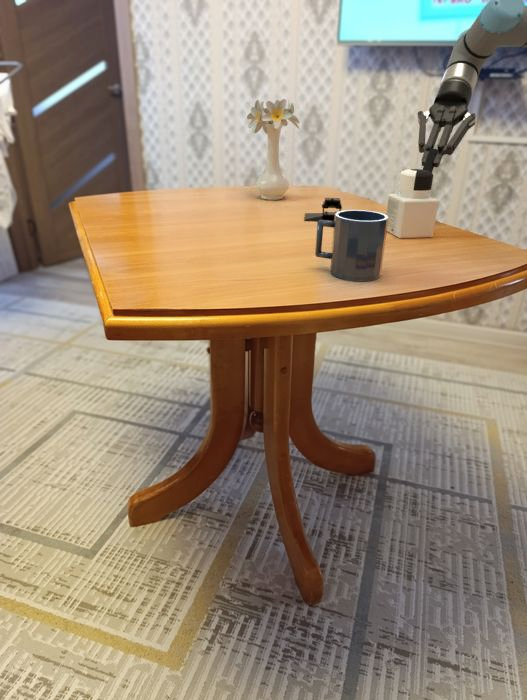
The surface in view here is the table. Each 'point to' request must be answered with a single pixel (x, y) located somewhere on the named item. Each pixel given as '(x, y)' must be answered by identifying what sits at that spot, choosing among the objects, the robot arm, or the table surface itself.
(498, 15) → the robot arm
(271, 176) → the flower vase
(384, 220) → the mug
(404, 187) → the container
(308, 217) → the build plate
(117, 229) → the table surface
